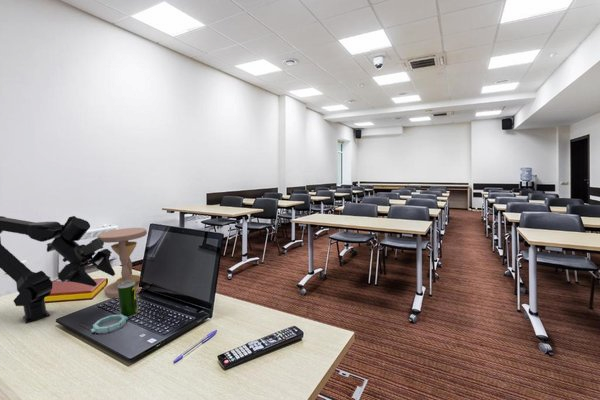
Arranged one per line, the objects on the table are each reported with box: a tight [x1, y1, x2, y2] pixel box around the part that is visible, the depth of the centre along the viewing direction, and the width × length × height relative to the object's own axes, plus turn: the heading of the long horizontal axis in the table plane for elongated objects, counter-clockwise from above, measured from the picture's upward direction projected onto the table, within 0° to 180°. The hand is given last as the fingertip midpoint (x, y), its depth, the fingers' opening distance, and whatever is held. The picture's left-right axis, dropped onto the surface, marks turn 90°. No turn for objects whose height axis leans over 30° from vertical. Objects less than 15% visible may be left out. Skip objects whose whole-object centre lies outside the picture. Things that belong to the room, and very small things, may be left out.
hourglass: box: [97, 227, 148, 299], centre depth 126 cm, size 18×18×25 cm
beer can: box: [117, 279, 139, 318], centre depth 104 cm, size 5×5×12 cm
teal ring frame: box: [90, 313, 129, 334], centre depth 97 cm, size 9×10×2 cm
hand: (105, 280), depth 103 cm, fingers open, 9 cm apart
